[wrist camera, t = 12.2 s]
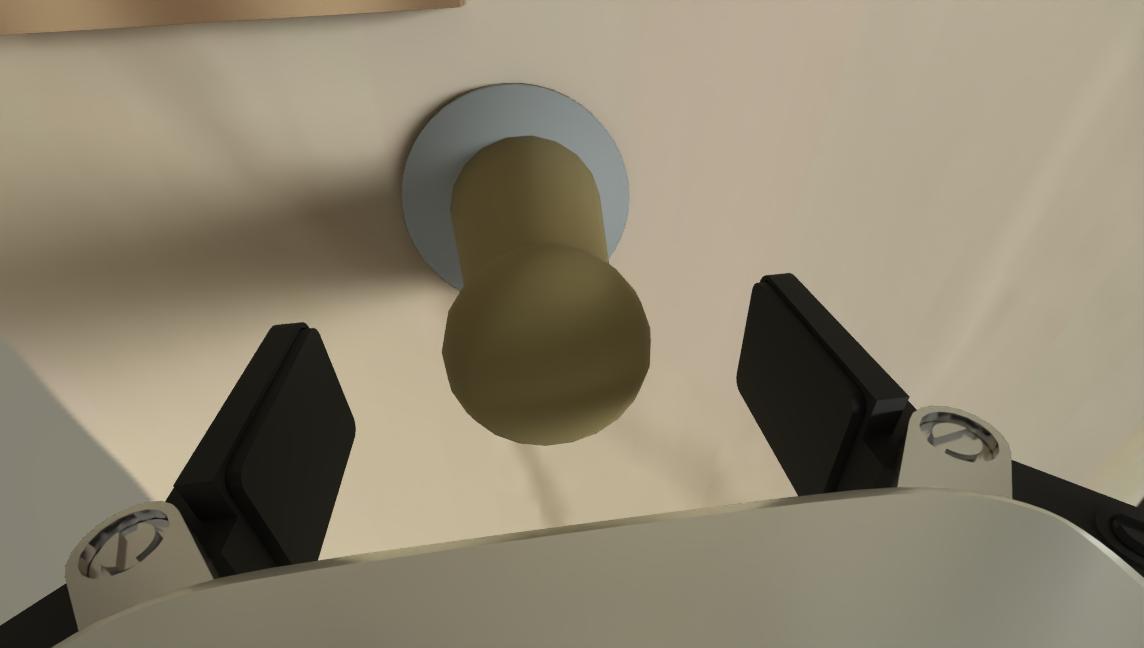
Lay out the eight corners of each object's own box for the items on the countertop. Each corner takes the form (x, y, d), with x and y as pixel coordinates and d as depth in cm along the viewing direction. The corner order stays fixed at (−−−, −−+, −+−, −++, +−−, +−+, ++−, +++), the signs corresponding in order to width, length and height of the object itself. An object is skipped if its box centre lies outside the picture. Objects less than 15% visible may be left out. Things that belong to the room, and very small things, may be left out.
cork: (451, 277, 22) (423, 485, 13) (448, 128, 19) (407, 267, 10) (591, 281, 23) (656, 478, 14) (611, 141, 20) (714, 278, 11)
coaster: (627, 74, 19) (630, 76, 19) (625, 287, 24) (628, 293, 24) (377, 92, 18) (374, 95, 18) (428, 308, 23) (427, 315, 23)
